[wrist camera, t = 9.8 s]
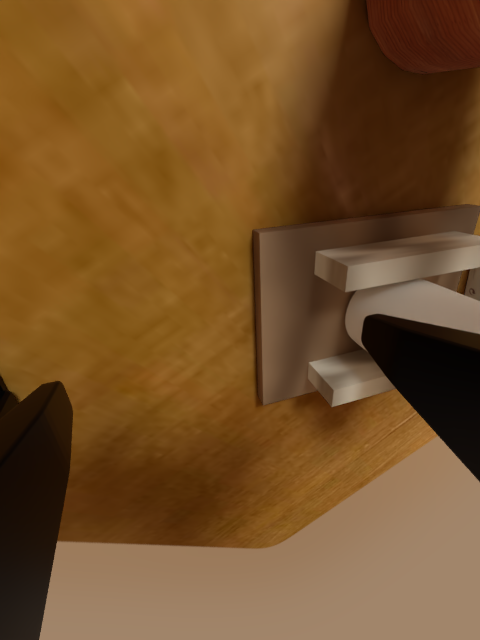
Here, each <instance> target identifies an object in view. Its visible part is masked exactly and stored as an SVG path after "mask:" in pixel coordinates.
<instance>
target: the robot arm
mask: <svg viewBox="0 0 480 640" xmlns="http://www.w3.org/2000/svg"><path fill="white" fill-rule="evenodd" d="M361 342H362V344H363V346H364V347H365V349H366V350H367V351H368V353H369V354H370V356H371V357H372V358H373V360H374V361H375V362H376V364H377V365H378V366H379V368H380V369H381V370H382V372H383V373H384V375H385V376H386V377H387V378H388V380H389V381H390V382H391V383H392V384H393V386H394V387H395V388H396V389H397V390H398V391H399V392H400V393H401V395H402V396H403V397H404V398H405V399H406V400H407V401H408V402H409V403H410V405H411V406H412V407H413V408H414V409H415V410H416V411H417V412H418V414H419V415H420V416H421V417H422V418H423V419H424V420H425V421H426V422H427V424H428V425H429V426H430V427H431V428H432V429H433V430H434V431H435V432H436V434H437V435H438V436H439V437H440V438H441V439H442V440H443V441H444V442H445V444H446V445H447V446H448V447H449V448H450V449H451V450H452V451H453V453H454V454H455V455H456V456H457V457H458V458H459V459H460V460H461V461H462V463H463V464H464V465H465V466H466V467H467V468H468V469H469V470H470V471H471V473H472V474H473V475H474V476H475V477H476V478H477V479H478V480H479V482H480V334H478V333H473V332H468V331H463V330H458V329H453V328H448V327H443V326H438V325H433V324H428V323H423V322H418V321H413V320H408V319H403V318H398V317H393V316H388V315H384V314H372V315H368V316H366V317H365V318H364V321H363V328H362V334H361ZM72 422H73V410H72V405H71V403H70V400H69V398H68V395H67V393H66V390H65V388H64V385H63V384H62V382H60V381H55V382H50V383H45V384H42V385H41V386H39V387H38V388H37V389H36V390H35V391H33V392H32V393H31V394H30V395H29V396H27V397H26V398H25V399H24V400H23V401H21V402H20V403H19V404H17V402H16V400H15V398H14V396H13V394H12V392H10V391H9V390H7V389H6V387H5V385H4V383H3V381H2V379H1V377H0V640H39V637H40V632H41V626H42V621H43V615H44V610H45V604H46V598H47V593H48V588H49V582H50V577H51V571H52V565H53V560H54V554H55V549H56V543H57V538H58V533H59V527H60V522H61V516H62V511H63V505H64V500H65V494H66V488H67V483H68V477H69V471H70V460H71V441H72Z"/></svg>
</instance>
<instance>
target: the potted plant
mask: <svg viewBox="0 0 480 640" xmlns="http://www.w3.org/2000/svg"><path fill="white" fill-rule="evenodd" d="M366 2H367V11H368V21H369V28H370V30H371V32H372V34H373V36H374V38H375V39H376V41H377V43H378V45H379V47H380V49H381V50H382V52H383V54H384V55H385V56H386V57H387V58H389V59H390V60H391V61H392V62H393V63H395V64H396V65H397V66H398V67H399V68H400V69H402V70H406V71H410V72H414V73H419V74H429V73H436V72H444V71H452V70H460V69H467V68H475V67H480V0H366Z"/></svg>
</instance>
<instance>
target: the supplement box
mask: <svg viewBox="0 0 480 640" xmlns="http://www.w3.org/2000/svg"><path fill="white" fill-rule="evenodd" d="M464 295H465V296H467V297H470V298H473V299H475V300H478V301H480V267H478V268H472V269H470V271H469V275H468V280H467V284H466V289H465V294H464Z"/></svg>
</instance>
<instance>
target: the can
mask: <svg viewBox="0 0 480 640" xmlns="http://www.w3.org/2000/svg"><path fill="white" fill-rule="evenodd" d="M372 314H384V315H388V316H393V317H398V318H403V319H408V320H413V321H418V322H423V323H428V324H433V325H438V326H443V327H448V328H453V329H458V330H463V331H468V332H473V333H478V334H480V301H478V300H475V299H473V298H470V297H467V296H465V295H462V294H460V293H457V292H455V291H452V290H449V289H447V288H444V287H442V286H439V285H437V284H434V283H431V282H429V281H426V280H424V279H421V278H419V279H414V280H408V281H403V282H398V283H392V284H387V285H381V286H376V287H371V288H365V289H360V290H356V291H355V292H354V294H353V295H352V297H351V299H350V301H349V303H348V306H347V309H346V315H345V325H346V330H347V333H348V335H349V336H350V337H351V339H352V340H354V341H355V342H356V343H357V344H358V345H359V346H361V347H362V348H363V349H364V350H366V349H365V347H364V346H363V344H362V342H361V334H362V328H363V321H364V318H365V317H366V316H368V315H372ZM366 351H367V350H366ZM367 352H368V351H367Z"/></svg>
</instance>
